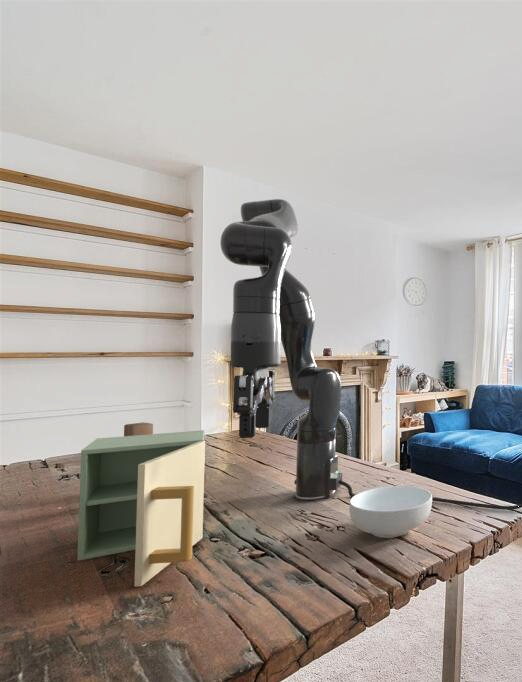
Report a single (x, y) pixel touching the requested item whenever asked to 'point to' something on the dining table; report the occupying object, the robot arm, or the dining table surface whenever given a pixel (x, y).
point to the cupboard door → (169, 510)
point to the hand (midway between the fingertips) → (255, 432)
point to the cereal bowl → (390, 510)
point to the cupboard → (117, 488)
